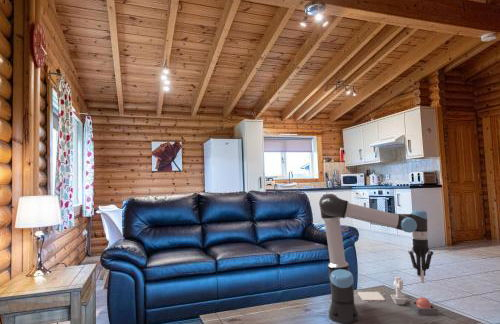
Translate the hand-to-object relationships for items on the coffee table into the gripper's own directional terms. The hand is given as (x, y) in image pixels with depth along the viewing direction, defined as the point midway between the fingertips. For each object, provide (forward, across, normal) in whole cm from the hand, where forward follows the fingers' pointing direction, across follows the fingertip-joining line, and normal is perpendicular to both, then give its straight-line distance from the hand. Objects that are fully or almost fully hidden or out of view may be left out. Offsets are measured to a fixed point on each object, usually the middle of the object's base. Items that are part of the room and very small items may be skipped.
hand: (421, 281), depth 178 cm
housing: (+16, +1, 0) cm, 16 cm away
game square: (+16, -21, +21) cm, 34 cm away
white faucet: (+16, -8, +11) cm, 21 cm away
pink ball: (+16, +1, 0) cm, 16 cm away
